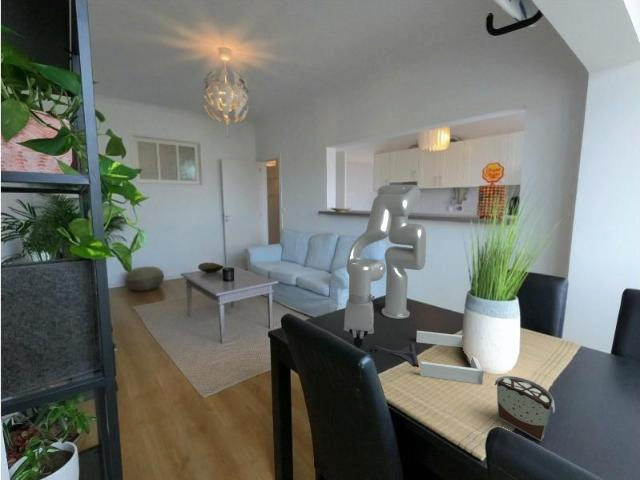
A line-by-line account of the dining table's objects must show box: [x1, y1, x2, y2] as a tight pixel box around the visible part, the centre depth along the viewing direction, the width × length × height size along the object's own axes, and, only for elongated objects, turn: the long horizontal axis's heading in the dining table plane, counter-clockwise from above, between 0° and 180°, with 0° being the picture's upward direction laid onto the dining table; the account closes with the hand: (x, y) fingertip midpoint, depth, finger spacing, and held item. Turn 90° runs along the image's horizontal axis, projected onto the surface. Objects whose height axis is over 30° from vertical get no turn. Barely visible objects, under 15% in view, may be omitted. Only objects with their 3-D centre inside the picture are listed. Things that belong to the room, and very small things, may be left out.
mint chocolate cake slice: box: [494, 375, 556, 443], centre depth 73 cm, size 12×6×10 cm, turn 35°
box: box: [416, 330, 484, 385], centre depth 102 cm, size 23×17×4 cm
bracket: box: [371, 342, 420, 368], centre depth 106 cm, size 14×15×3 cm
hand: (358, 347), depth 109 cm, fingers closed
